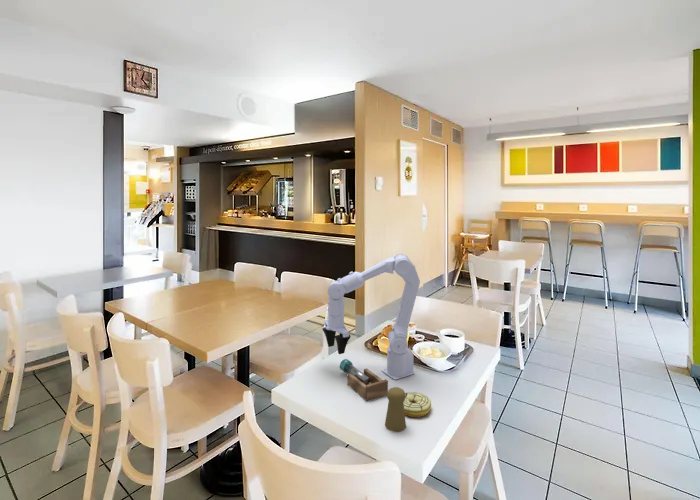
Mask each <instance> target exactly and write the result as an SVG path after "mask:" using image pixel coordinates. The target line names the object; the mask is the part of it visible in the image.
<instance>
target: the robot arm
mask: <svg viewBox="0 0 700 500" xmlns="http://www.w3.org/2000/svg"><path fill="white" fill-rule="evenodd" d="M394 272H395V273H396V274H397V275H398V276H400V277H401V278H402V280H403V281H404V282H405V284H404V287H403V291H402V295H401V298H400V299H401V300H400V302H399V307H398V310H397V314H396V319H395V320H394V321H395V322H394V323H393V325H392V329H391V330H390V331H389V332H388V334H387V339H388V343H389V344H388V347H387V348H386V349H387V351H386V352H387V353H386V354H387V355H386V368H384V369H381V372H382V373H383V374H385V375H387V376H388V377H390V378H391V379H393V380H395V381H396V380H398V379H399V380H400V379H402V378H405V377H409V376H412V375H414V374H415V371H414V361H415V360H414V358H415V357H414V352H413V351H412V349H411V348H409V347H408V342H407V341H408V340H407V339H408V334H409V333H408V331H409V330H408V329H409V325H410V322H411V318H412V313H413V312H414V305H415V302H416V298H417V294H418V291H419V287H420V283H421V281H420V277H419V275H418V272H417V270H416V266H415V265H414V263H413V262H412V261H411V259H410V258H409V257H408V256H407V255H405V254H403V253H399V254H396V255H395V256H391V257H389V258H386V259H384V260H382V261H380V262H378V263H377V264H374V265H373V266H371V267H369V268H367V269H366V270H364V271H362V272H359V271H354V272H353V271H350V272H349V273H348V275H345V276H343V277H342V278H341V277H339V278H337V280H333V281H331V282H330V284H329V286H328V288H327V294H328V308H327V309H328V311H327V315H328V316H327V317H328V319H326V320H324V321H323V322H324V324H323V325H324V327H322V329H321V330H322V331H323V333H324V336H325V338H326V343H327V346H328V347H329V348H330V347H334V346H335V342H336V345H337V347H336V348H337V352H338V354H339V355H344V353H345V351H346V348H347V344H348V342H349V340H350V338H351V334H350V332H349V330H348V329H347V328H346V327H347V326H345V301H344V296H345V294H348V293H351V292H353V291H356V290H358V289H360V288H361V287H363V286H364V284H365V282H366V281H368V280H370V279H373V278H375V277H377V276H380V275H382V274H384V273H386V274H392V275H393V274H394ZM336 333H338V334H337V335H336Z"/></svg>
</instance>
